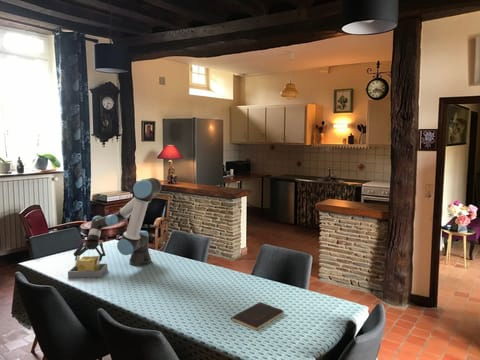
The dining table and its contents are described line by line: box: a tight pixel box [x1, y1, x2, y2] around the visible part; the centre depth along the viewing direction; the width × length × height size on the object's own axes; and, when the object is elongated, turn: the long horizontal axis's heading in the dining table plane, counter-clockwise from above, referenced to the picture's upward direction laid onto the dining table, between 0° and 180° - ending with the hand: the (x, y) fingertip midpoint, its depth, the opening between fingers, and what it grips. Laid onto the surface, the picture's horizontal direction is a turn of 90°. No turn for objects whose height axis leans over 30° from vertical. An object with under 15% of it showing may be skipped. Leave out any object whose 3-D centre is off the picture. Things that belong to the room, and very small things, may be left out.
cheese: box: [78, 255, 99, 271], centre depth 244 cm, size 10×11×10 cm
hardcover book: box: [230, 301, 285, 331], centre depth 188 cm, size 16×23×2 cm
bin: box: [67, 263, 109, 280], centre depth 245 cm, size 20×15×4 cm
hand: (86, 265), depth 242 cm, fingers open, 13 cm apart
